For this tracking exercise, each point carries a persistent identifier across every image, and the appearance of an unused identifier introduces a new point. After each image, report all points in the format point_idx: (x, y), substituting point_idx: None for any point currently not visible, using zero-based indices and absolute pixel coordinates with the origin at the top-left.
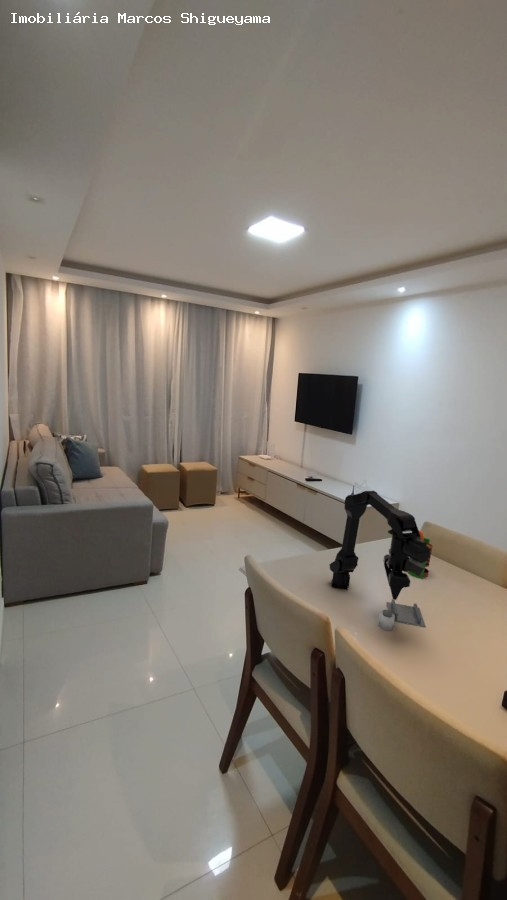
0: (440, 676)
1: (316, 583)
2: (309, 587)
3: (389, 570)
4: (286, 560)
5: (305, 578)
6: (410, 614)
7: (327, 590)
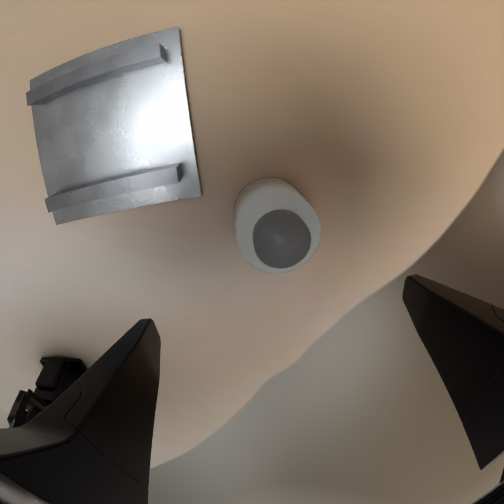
0: (474, 58)
1: None
2: (155, 430)
3: (127, 497)
4: None
5: None
6: (102, 103)
7: None
